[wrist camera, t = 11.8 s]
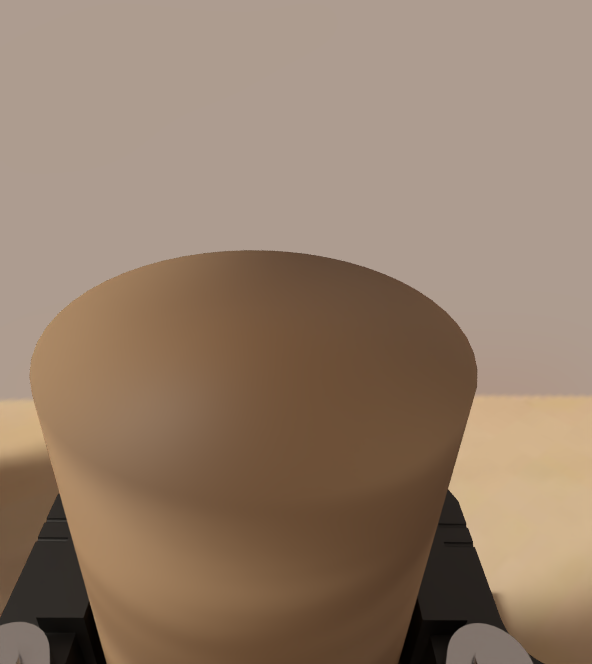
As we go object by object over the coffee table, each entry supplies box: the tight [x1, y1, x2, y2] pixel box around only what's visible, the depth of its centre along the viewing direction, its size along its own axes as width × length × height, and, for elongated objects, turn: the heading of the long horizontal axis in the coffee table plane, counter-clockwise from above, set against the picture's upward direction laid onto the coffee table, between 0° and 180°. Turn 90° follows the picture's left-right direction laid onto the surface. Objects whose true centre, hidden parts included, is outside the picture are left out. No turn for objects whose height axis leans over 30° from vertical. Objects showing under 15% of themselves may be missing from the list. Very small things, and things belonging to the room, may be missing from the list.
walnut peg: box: [30, 250, 477, 664], centre depth 10 cm, size 5×5×13 cm
